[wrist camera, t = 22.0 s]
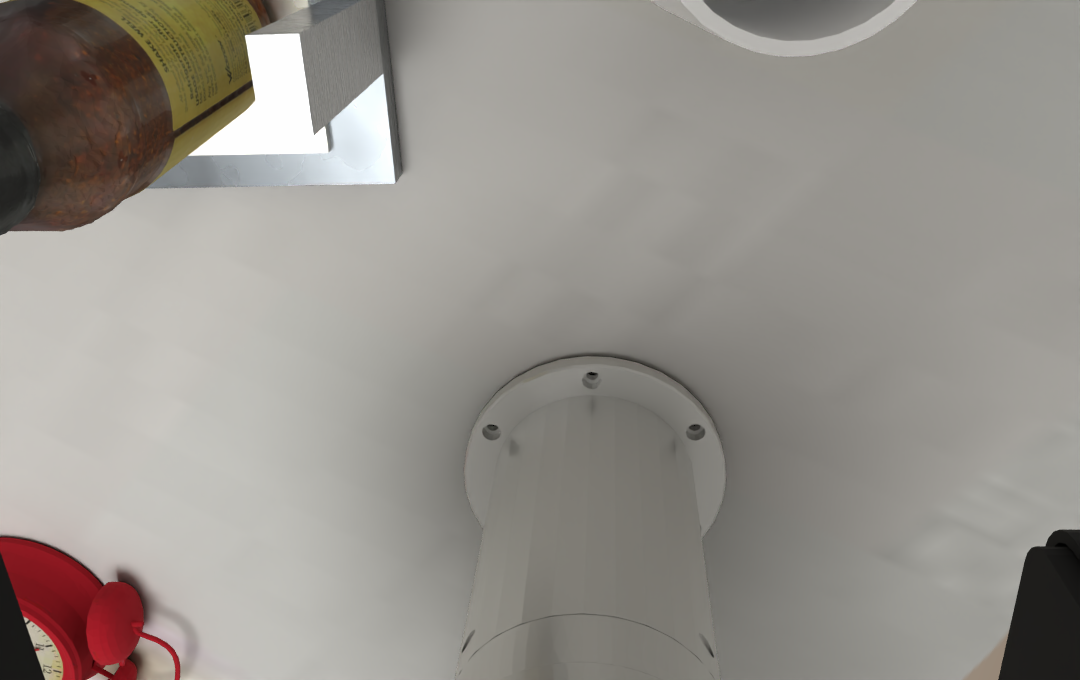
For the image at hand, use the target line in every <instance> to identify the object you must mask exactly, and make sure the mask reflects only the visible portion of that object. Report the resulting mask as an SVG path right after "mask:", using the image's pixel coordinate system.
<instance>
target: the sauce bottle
mask: <svg viewBox="0 0 1080 680" xmlns="http://www.w3.org/2000/svg"><path fill="white" fill-rule="evenodd" d="M269 24H271V23H270V21H269V17H268V15H267V12H266V9H265V7H264V5H263V4H262V2H261V0H9V1H6V2H3V3H0V235H2V234H5V233H7V232H8V231H65V230H72V229H74V228H77V227H82V226H84V225H86V224H90V223H92V222H94V221H95V220H96V219H99V218H100V217H102V216H103V215H105V214H107V213H108V212H110V211H112V210H113V209H114V208H115V207H116V206H117V205H119V204H120V203H121V201H123V200H124V199H127V198H128V197H131V196H133V195H135V194H137V193H139V192H141V191H142V190H144V189H145V188H147V187H148V186H149V185H151V184H152V183H153V182H155V181H156V180H157V179H159V178H160V177H161V176H162V175H164V174H165V173H166V172H168V171H169V170H170V169H171V168H173V167H174V166H175V165H177V164H178V163H179V162H180V161H182V160H183V159H184V158H186V157H187V156H188V155H189V154H191V153H192V152H193V151H194V150H196V149H197V148H198V147H200V146H201V145H202V144H204V143H205V142H206V141H207V140H209V139H210V138H211V137H213V136H214V135H215V134H217V133H218V132H219V131H220V130H222V129H223V128H224V127H226V126H227V125H228V124H230V123H231V122H232V121H233V120H235V119H236V118H237V117H239V116H240V115H241V114H242V113H244V112H245V111H246V110H247V109H248V108H249V107H250V106H251V105H252V104H253V103H254V101H255V100H256V97H255V91H254V85H253V80H252V74H251V68H250V62H249V56H248V50H247V44H246V38H245V35H247V34H249V33H252V32H254V31H256V30H258V29H260V28H263V27H265V26H267V25H269Z"/></svg>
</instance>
